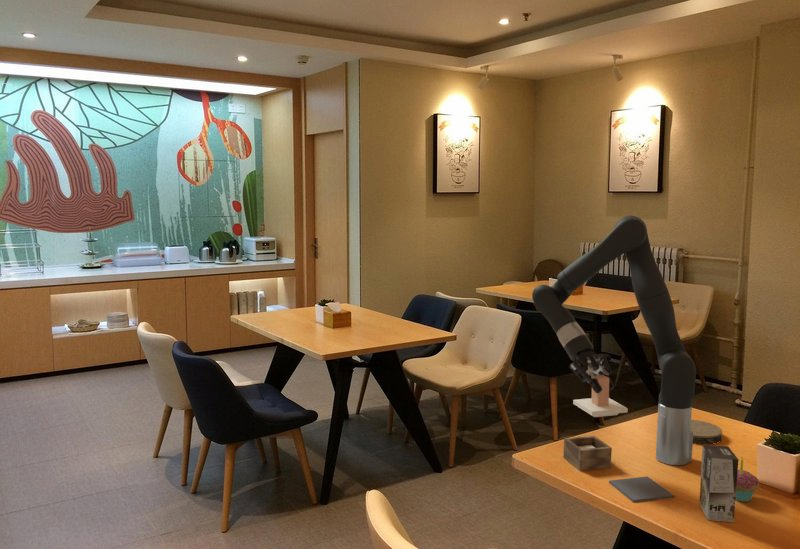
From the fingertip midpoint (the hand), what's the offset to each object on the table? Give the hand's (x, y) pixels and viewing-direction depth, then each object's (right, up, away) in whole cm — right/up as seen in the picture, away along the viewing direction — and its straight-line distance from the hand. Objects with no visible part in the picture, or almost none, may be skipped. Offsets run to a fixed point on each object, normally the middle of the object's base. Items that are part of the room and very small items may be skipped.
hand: (605, 390), depth 192 cm
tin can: (+39, -21, +31) cm, 53 cm away
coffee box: (+21, -27, -23) cm, 41 cm away
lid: (-1, -7, +2) cm, 7 cm away
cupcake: (+31, -26, -14) cm, 43 cm away
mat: (+6, -25, -10) cm, 28 cm away
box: (-3, -23, +8) cm, 25 cm away
